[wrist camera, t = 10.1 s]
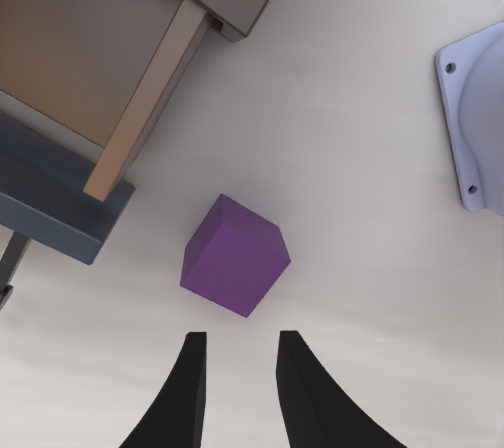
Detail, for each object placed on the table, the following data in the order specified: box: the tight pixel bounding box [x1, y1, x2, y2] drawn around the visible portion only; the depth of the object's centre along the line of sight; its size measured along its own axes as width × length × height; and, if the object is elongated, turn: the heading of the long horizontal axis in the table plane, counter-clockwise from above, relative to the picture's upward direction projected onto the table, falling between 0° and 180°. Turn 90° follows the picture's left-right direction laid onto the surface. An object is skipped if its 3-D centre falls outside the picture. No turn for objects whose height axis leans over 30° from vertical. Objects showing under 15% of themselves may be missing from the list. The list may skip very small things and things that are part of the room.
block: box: [180, 194, 291, 318], centre depth 20 cm, size 4×4×4 cm
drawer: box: [0, 0, 214, 310], centre depth 14 cm, size 18×11×6 cm, turn 146°
